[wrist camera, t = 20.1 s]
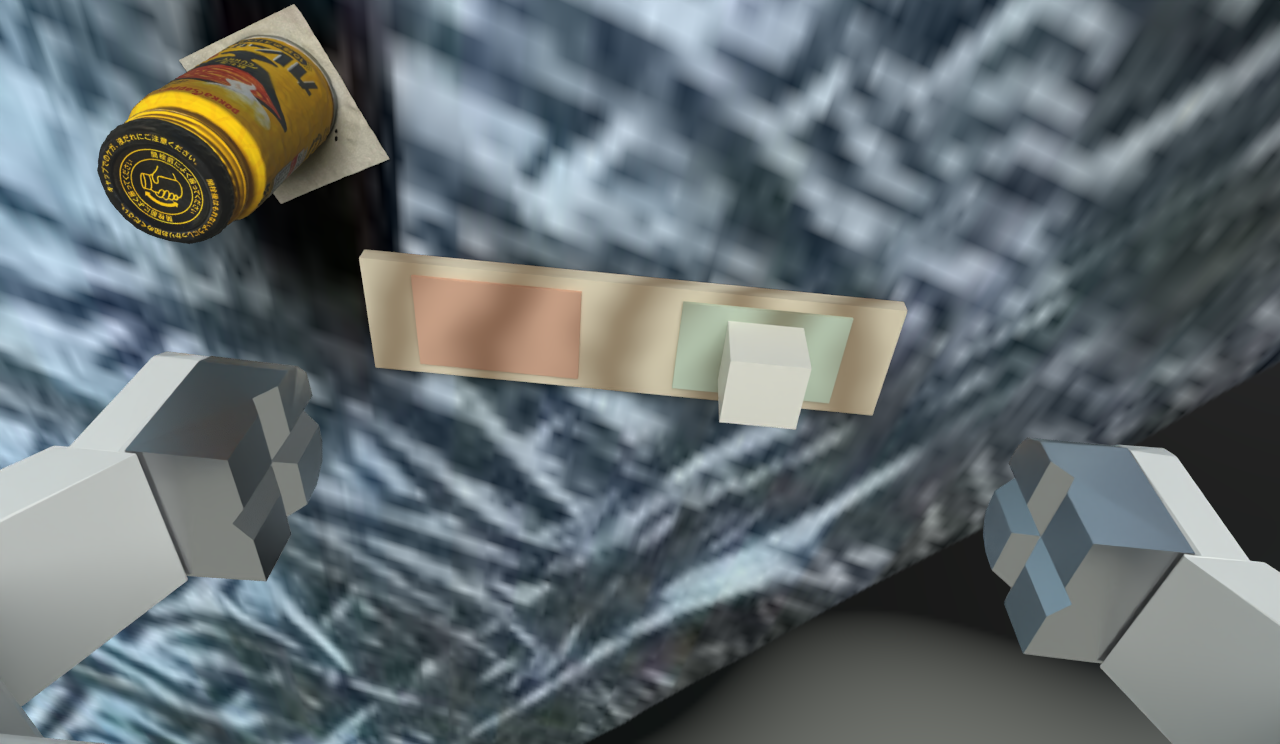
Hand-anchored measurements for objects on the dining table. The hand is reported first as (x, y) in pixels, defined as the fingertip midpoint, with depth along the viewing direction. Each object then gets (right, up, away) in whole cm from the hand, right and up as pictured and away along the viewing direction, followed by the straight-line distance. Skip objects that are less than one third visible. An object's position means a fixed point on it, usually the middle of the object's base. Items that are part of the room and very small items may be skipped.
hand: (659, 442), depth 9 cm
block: (+7, +2, +39) cm, 40 cm away
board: (-1, +3, +40) cm, 41 cm away
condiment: (-19, +15, +33) cm, 41 cm away
